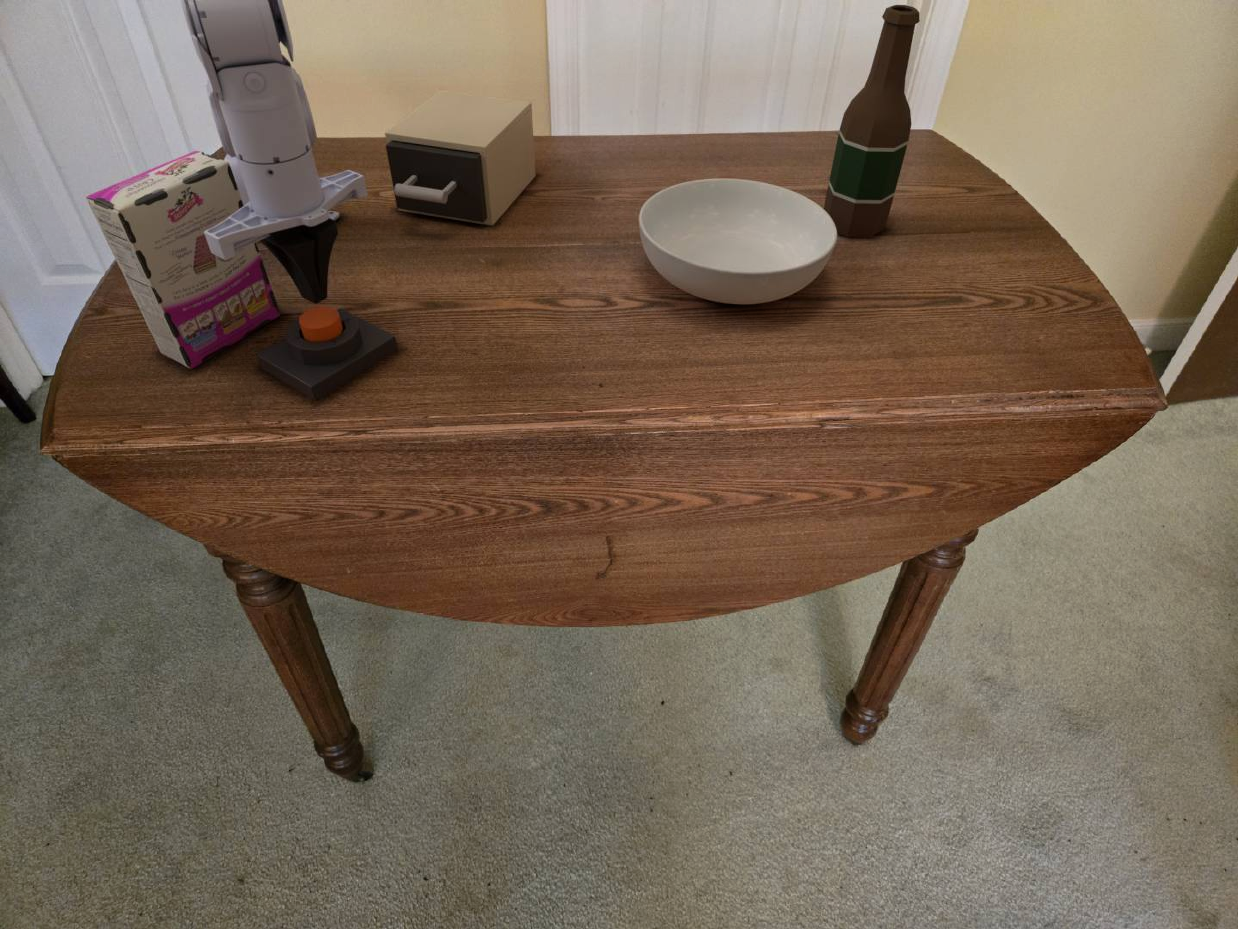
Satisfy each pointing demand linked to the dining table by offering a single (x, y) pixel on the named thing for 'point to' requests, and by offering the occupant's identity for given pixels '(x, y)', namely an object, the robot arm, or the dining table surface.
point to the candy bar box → (185, 257)
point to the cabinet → (478, 140)
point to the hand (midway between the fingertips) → (314, 297)
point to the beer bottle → (874, 135)
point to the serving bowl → (736, 239)
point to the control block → (327, 356)
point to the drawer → (437, 180)
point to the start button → (320, 324)
